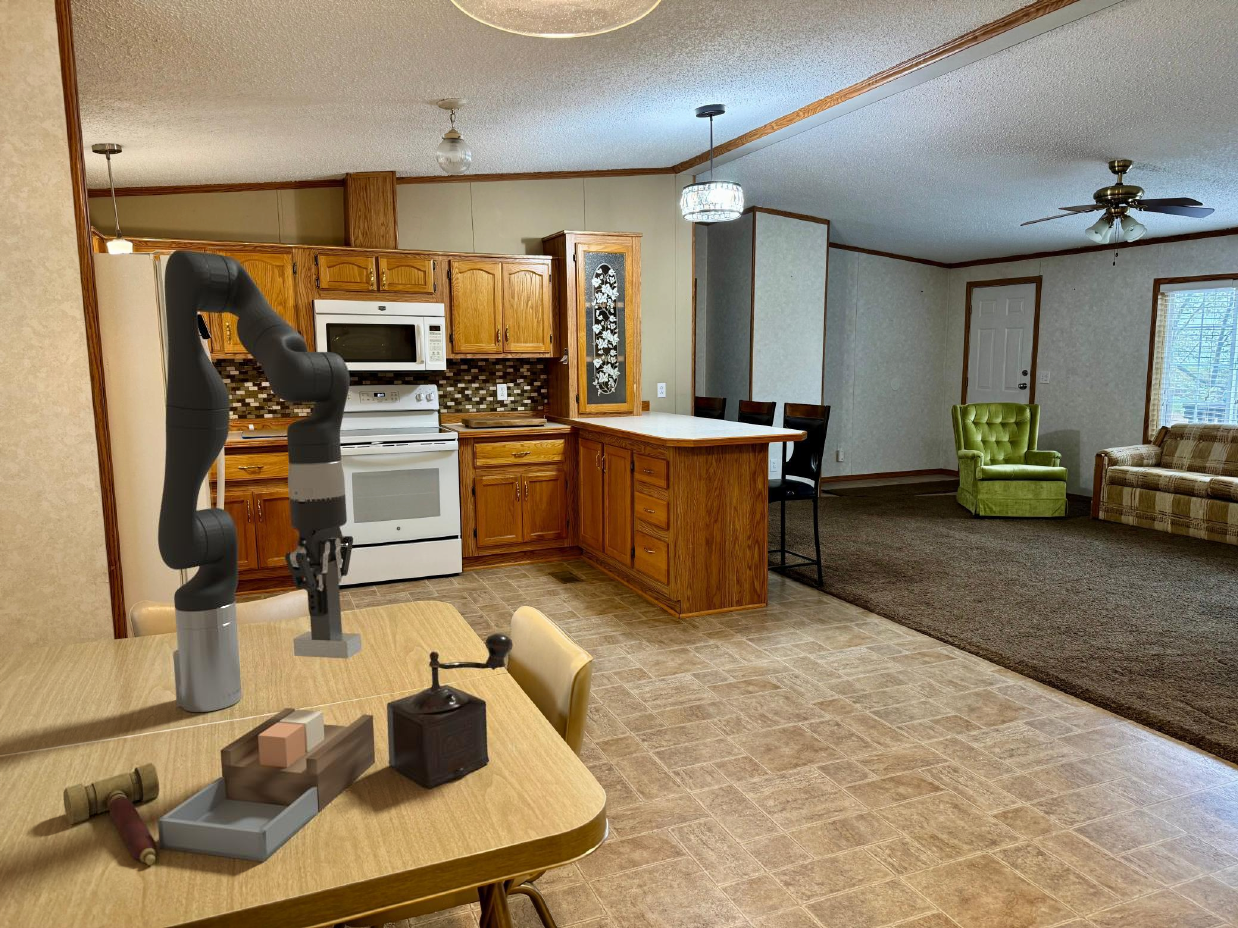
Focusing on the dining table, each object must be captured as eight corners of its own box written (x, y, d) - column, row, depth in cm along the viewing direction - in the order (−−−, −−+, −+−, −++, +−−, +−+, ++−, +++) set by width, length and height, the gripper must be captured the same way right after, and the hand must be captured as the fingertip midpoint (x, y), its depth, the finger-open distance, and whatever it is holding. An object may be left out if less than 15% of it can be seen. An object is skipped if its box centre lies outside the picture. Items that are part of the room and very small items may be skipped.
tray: (159, 847, 98) (157, 819, 98) (222, 802, 109) (220, 776, 108) (264, 861, 95) (262, 832, 95) (318, 813, 106) (316, 786, 105)
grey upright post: (294, 655, 120) (287, 563, 118) (309, 647, 123) (302, 558, 122) (348, 658, 118) (341, 564, 116) (361, 650, 121) (355, 559, 120)
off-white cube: (281, 749, 113) (279, 720, 112) (298, 736, 117) (297, 709, 116) (307, 751, 112) (305, 723, 111) (324, 739, 116) (322, 711, 115)
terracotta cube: (260, 764, 108) (258, 735, 108) (279, 750, 112) (277, 722, 112) (287, 767, 107) (285, 737, 107) (305, 753, 111) (303, 724, 111)
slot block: (223, 801, 109) (220, 749, 108) (288, 753, 123) (285, 707, 122) (319, 811, 106) (316, 759, 105) (375, 761, 119) (372, 715, 119)
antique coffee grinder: (429, 792, 111) (424, 661, 109) (386, 765, 118) (381, 643, 116) (521, 753, 122) (518, 633, 120) (476, 731, 129) (472, 618, 127)
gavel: (197, 826, 97) (99, 861, 91) (199, 862, 98) (102, 899, 91) (149, 757, 113) (61, 782, 106) (151, 788, 113) (64, 815, 107)
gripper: (322, 486, 126) (329, 598, 128) (262, 500, 112) (271, 625, 114) (367, 487, 124) (373, 600, 126) (311, 501, 110) (319, 627, 112)
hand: (324, 611), depth 120 cm, fingers closed on grey upright post, 3 cm apart
